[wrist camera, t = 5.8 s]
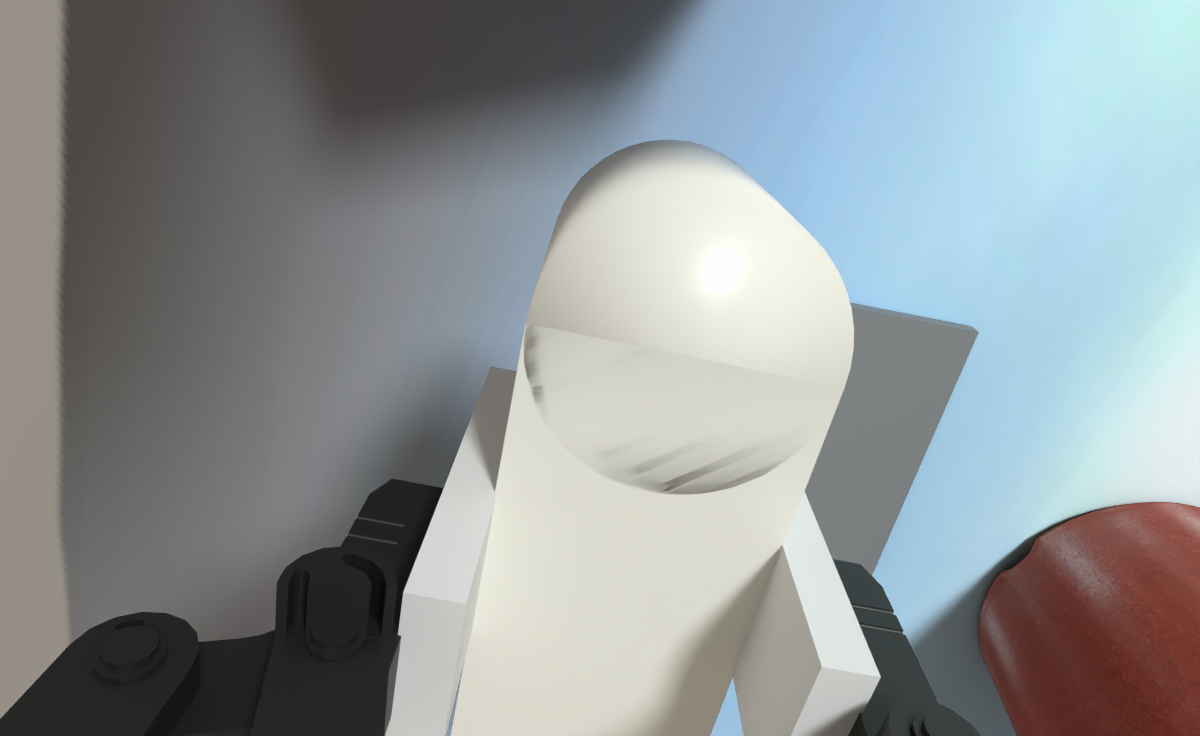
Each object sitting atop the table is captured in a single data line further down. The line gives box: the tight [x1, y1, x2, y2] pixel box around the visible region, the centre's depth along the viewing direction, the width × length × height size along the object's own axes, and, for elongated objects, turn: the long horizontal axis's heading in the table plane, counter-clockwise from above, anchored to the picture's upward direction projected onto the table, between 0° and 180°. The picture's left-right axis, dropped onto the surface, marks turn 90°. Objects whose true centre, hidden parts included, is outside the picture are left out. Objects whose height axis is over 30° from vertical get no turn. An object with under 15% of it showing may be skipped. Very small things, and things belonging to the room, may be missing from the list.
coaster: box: [805, 303, 978, 576], centre depth 30 cm, size 12×12×1 cm
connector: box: [451, 140, 854, 736], centre depth 14 cm, size 13×4×5 cm, turn 168°
